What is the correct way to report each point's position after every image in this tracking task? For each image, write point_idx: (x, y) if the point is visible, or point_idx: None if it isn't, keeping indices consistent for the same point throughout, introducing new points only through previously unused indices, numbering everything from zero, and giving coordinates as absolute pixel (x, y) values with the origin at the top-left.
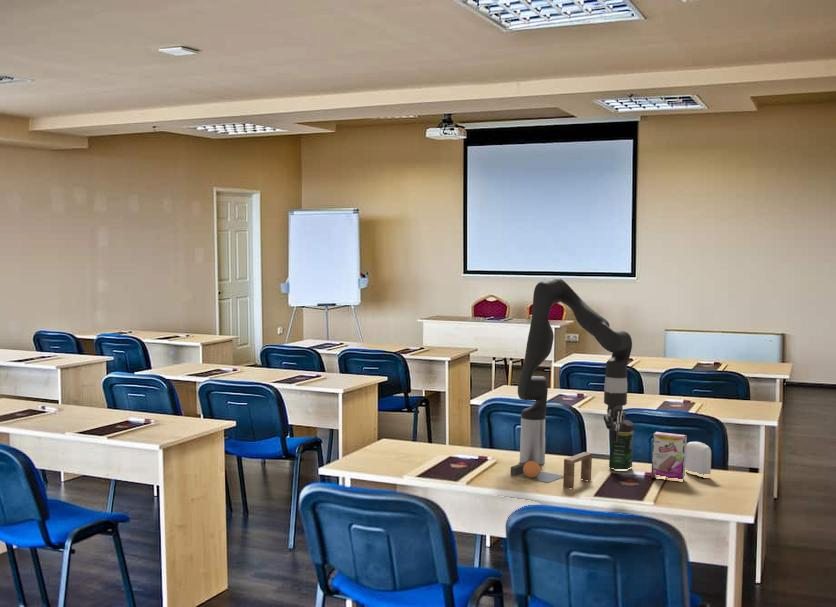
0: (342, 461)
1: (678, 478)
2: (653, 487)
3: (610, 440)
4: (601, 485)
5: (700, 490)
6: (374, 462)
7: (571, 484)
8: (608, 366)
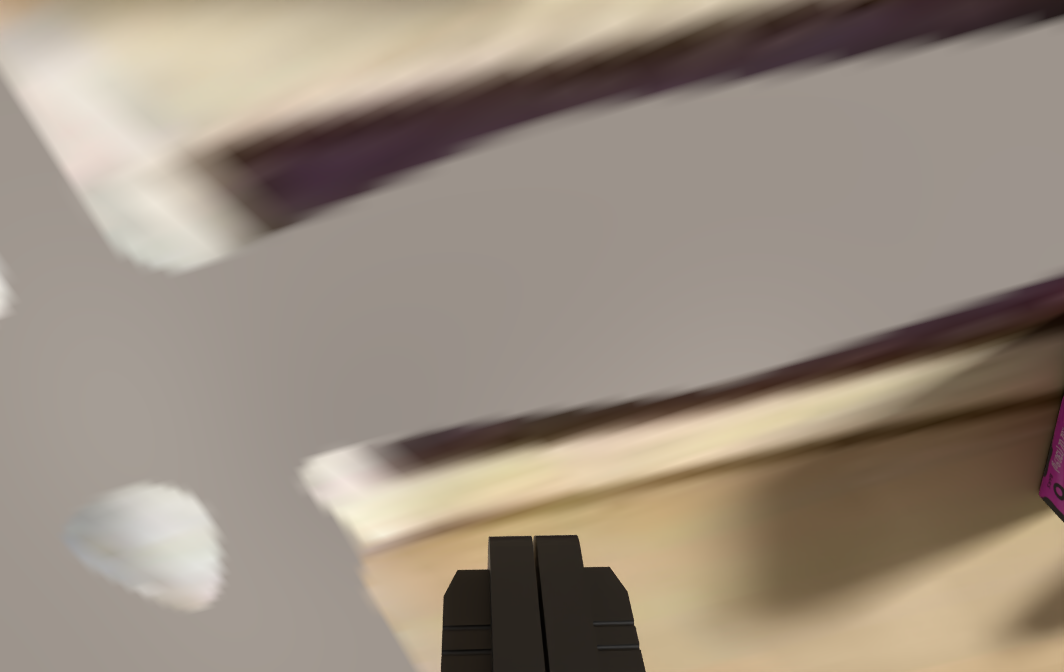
0: None
1: (1058, 493)
2: (805, 407)
3: (489, 542)
4: (617, 48)
5: (878, 611)
6: None
7: None
8: None
